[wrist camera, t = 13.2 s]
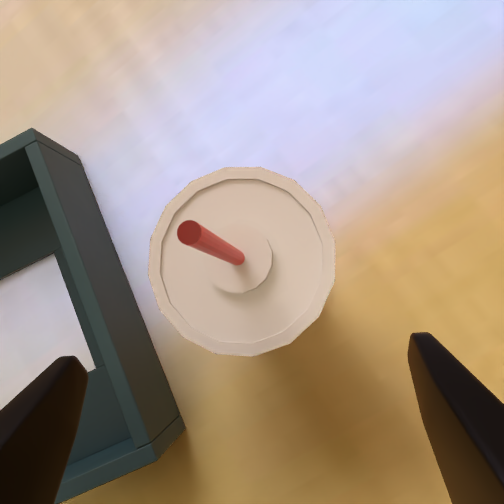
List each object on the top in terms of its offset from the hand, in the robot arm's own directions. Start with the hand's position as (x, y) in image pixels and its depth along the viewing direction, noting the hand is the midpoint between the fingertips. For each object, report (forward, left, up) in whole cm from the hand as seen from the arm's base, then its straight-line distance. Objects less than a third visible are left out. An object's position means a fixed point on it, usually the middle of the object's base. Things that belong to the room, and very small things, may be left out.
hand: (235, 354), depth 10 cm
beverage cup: (+3, 0, -11) cm, 11 cm away
